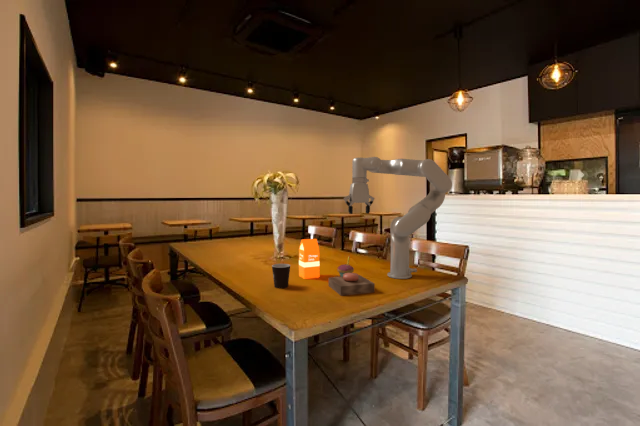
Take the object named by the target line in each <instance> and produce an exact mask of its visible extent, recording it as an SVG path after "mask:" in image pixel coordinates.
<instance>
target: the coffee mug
mask: <svg viewBox="0 0 640 426" xmlns="http://www.w3.org/2000/svg"><path fill="white" fill-rule="evenodd" d="M271 270H272V276H273V286H274V288H275V289H286V288H288V287H289V282H290V281H289V280H290V272H291V271H290V270H291V264H289V263H274V264H272V265H271Z"/></svg>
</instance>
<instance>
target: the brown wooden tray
mask: <svg viewBox="0 0 640 426" xmlns="http://www.w3.org/2000/svg"><path fill="white" fill-rule="evenodd" d="M375 285H376V284H375V282H373V281H371V280H369V279H367V278H366V277H364V276H362V275H360V274H358V280H356V281H346V280H344V279H343V276H334V277H333V276H331V277H328V287H329V288H331V289H332V290H333V291H335V292H336V293H337V294H338V295H340V296H350V295H352V296H353V295H359V294H360V295H361V294H371V293H373V294H374V293H375Z"/></svg>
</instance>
